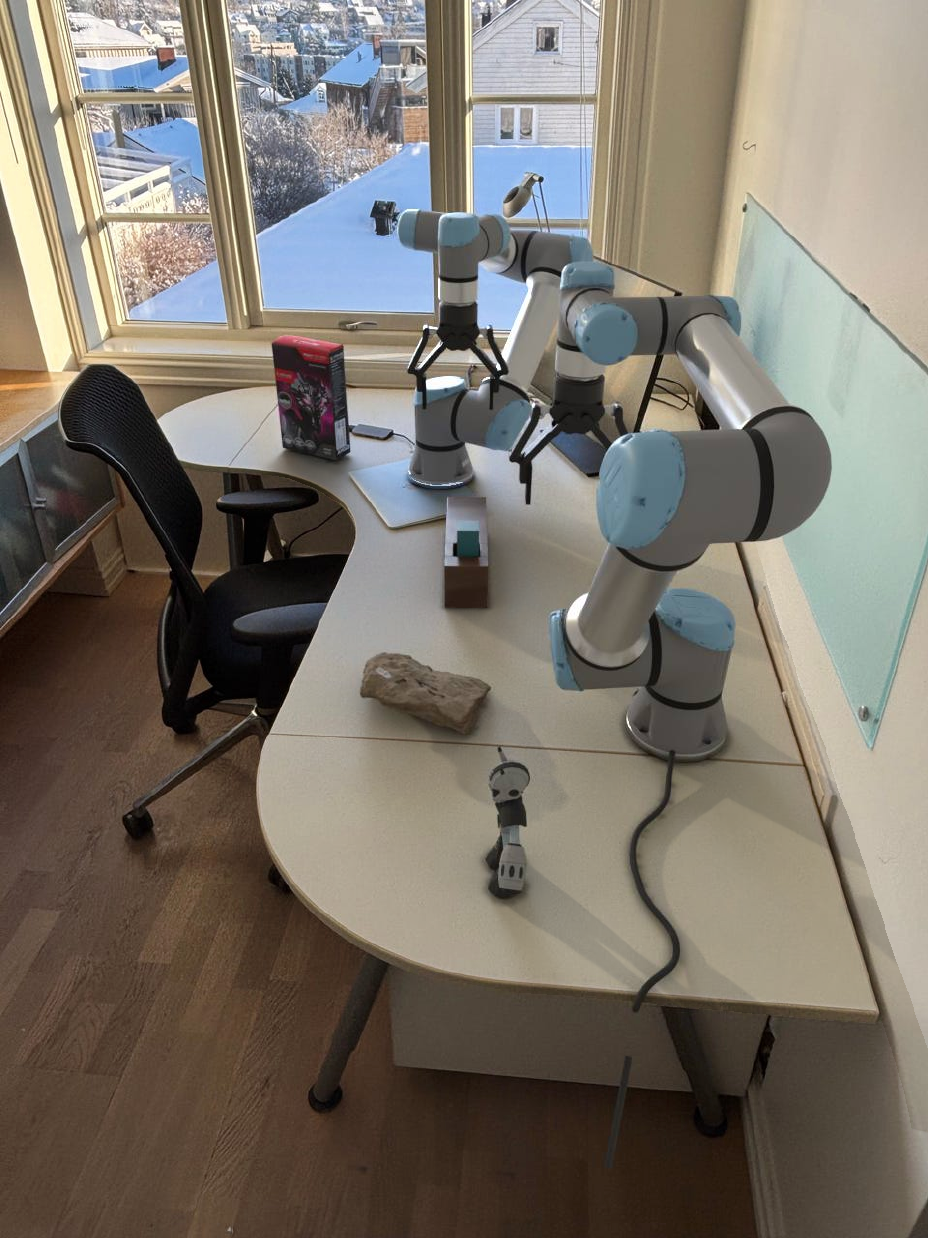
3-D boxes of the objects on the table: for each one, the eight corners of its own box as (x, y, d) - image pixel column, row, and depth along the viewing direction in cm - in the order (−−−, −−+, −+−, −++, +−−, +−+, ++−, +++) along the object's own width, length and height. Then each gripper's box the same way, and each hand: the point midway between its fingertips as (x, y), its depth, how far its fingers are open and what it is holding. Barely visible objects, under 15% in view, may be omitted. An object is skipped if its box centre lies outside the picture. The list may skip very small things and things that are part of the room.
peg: (477, 596, 175) (479, 531, 167) (456, 595, 175) (457, 530, 167) (477, 585, 178) (479, 520, 171) (457, 584, 178) (457, 520, 171)
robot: (531, 936, 111) (540, 818, 100) (491, 937, 111) (496, 820, 100) (516, 817, 127) (522, 704, 116) (481, 818, 127) (484, 705, 116)
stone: (334, 705, 142) (341, 671, 140) (369, 669, 156) (376, 637, 153) (461, 752, 139) (471, 718, 136) (486, 710, 152) (495, 679, 150)
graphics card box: (280, 449, 231) (268, 340, 216) (296, 439, 236) (286, 332, 221) (337, 462, 224) (328, 351, 209) (352, 452, 229) (345, 343, 214)
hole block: (487, 608, 172) (488, 566, 167) (444, 607, 172) (444, 565, 167) (485, 535, 195) (486, 497, 190) (447, 535, 195) (447, 496, 190)
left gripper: (522, 296, 180) (517, 401, 192) (394, 295, 180) (398, 399, 192) (524, 307, 174) (519, 414, 186) (391, 305, 174) (395, 413, 186)
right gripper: (659, 365, 140) (643, 491, 152) (495, 363, 140) (492, 490, 152) (668, 382, 134) (650, 512, 146) (496, 380, 134) (493, 511, 146)
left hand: (457, 407), depth 189 cm, fingers open, 13 cm apart
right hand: (569, 501), depth 149 cm, fingers open, 13 cm apart
